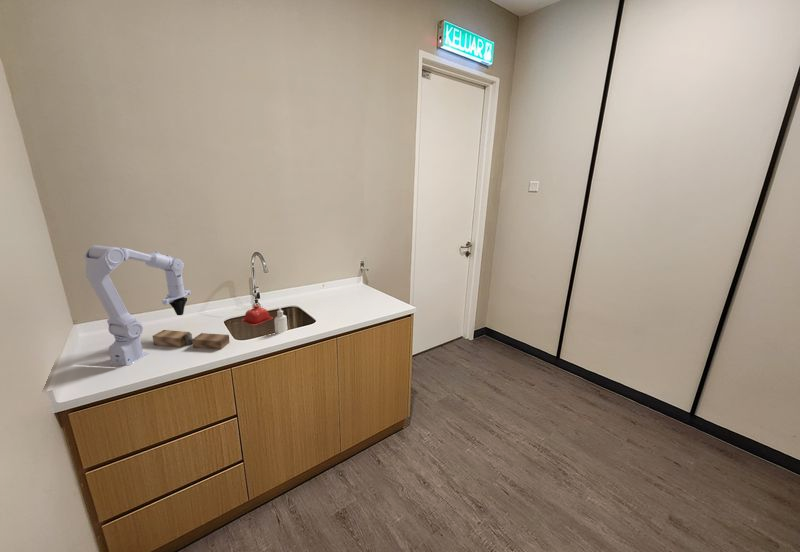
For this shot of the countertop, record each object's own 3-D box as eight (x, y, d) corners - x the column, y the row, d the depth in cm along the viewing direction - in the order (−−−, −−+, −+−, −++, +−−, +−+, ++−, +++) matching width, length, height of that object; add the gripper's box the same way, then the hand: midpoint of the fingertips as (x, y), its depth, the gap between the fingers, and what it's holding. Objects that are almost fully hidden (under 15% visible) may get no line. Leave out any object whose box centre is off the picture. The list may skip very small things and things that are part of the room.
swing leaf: (197, 341, 143) (196, 331, 142) (187, 347, 137) (185, 337, 136) (165, 338, 145) (163, 329, 144) (154, 344, 139) (152, 334, 138)
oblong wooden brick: (229, 343, 142) (228, 334, 141) (221, 350, 136) (220, 341, 135) (202, 341, 143) (201, 333, 142) (193, 348, 137) (192, 339, 136)
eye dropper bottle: (288, 333, 153) (287, 308, 150) (276, 335, 150) (274, 310, 147) (286, 329, 157) (285, 305, 154) (274, 332, 154) (272, 307, 151)
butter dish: (239, 322, 164) (238, 306, 162) (260, 315, 174) (259, 299, 171) (254, 328, 158) (252, 311, 156) (274, 320, 168) (273, 304, 166)
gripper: (178, 280, 150) (183, 308, 154) (153, 289, 136) (158, 320, 140) (193, 280, 150) (197, 309, 153) (169, 290, 136) (174, 321, 139)
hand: (180, 314), depth 147 cm, fingers closed
